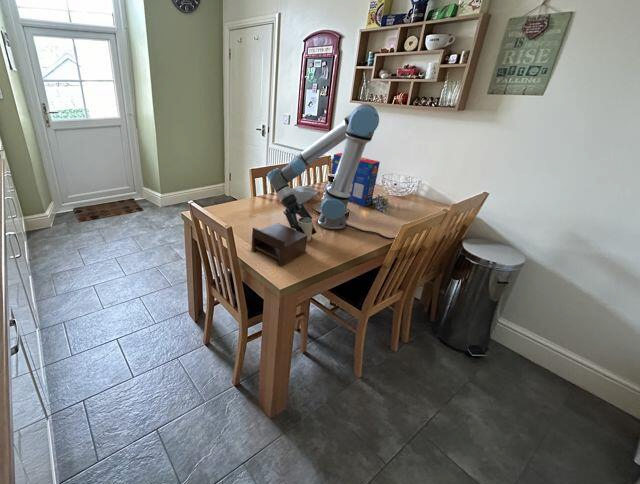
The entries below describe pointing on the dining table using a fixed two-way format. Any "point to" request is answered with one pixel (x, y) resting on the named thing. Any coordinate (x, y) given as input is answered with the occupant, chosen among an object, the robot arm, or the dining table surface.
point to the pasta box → (361, 180)
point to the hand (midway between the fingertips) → (309, 236)
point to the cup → (306, 226)
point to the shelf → (279, 242)
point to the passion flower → (380, 203)
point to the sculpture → (304, 193)
